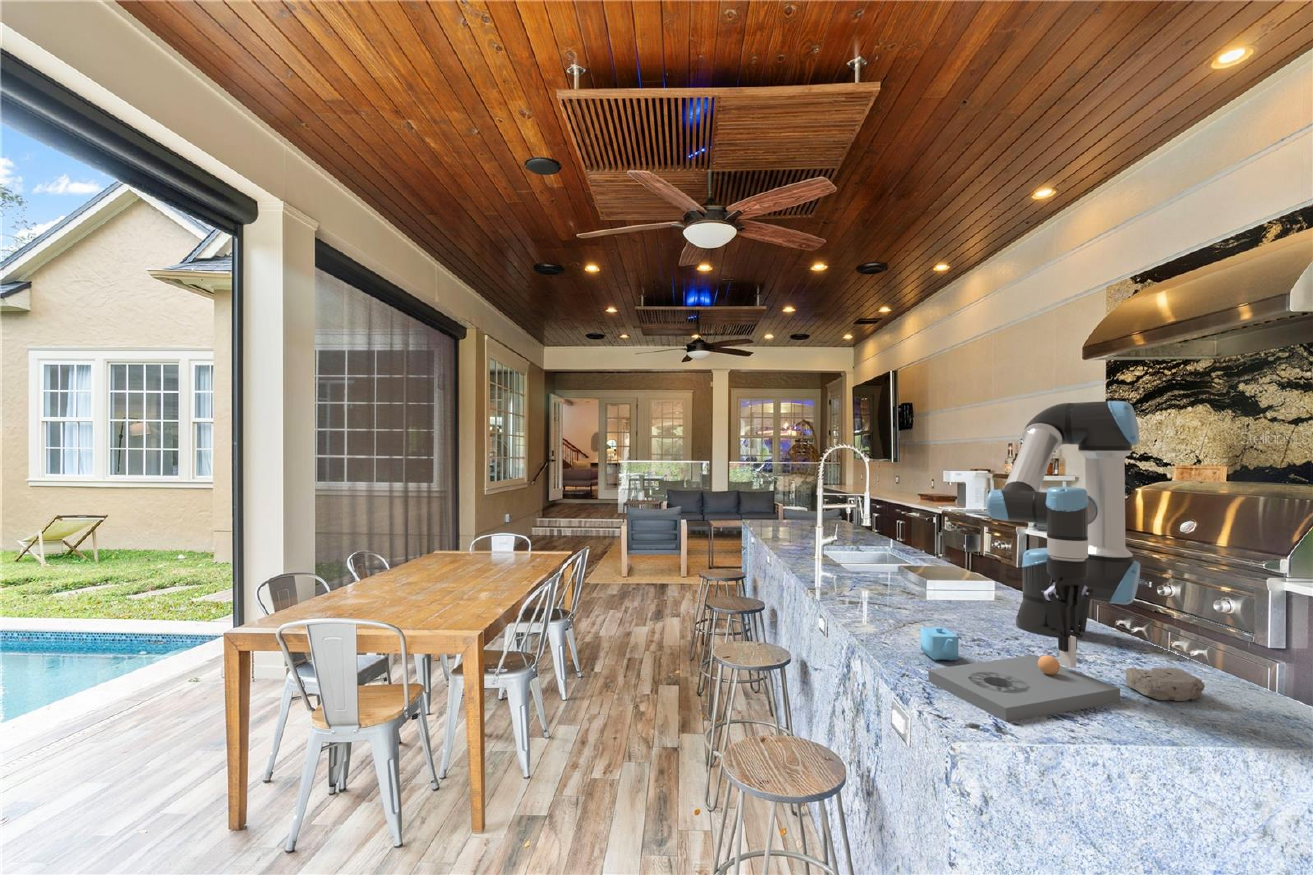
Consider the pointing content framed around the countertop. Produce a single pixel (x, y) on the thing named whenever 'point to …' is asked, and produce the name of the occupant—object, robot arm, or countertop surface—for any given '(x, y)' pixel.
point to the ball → (1049, 665)
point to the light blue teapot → (939, 643)
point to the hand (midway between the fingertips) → (1067, 665)
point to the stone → (1165, 683)
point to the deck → (1022, 688)
